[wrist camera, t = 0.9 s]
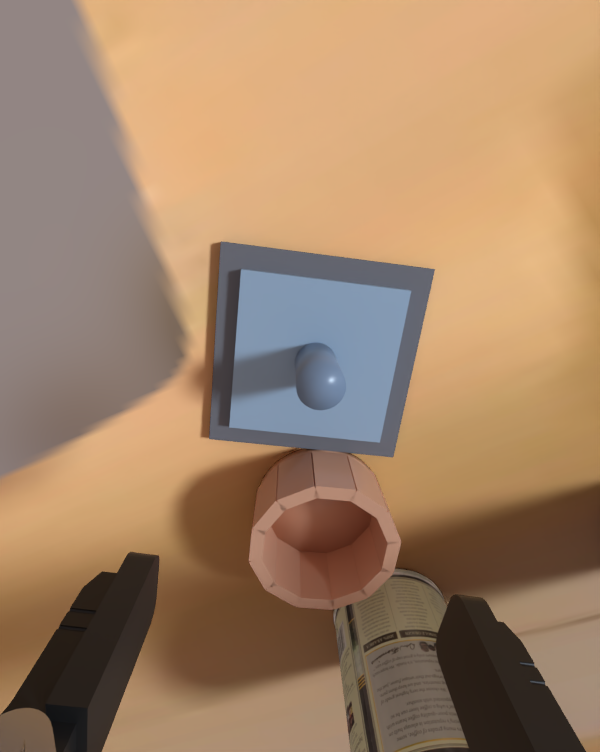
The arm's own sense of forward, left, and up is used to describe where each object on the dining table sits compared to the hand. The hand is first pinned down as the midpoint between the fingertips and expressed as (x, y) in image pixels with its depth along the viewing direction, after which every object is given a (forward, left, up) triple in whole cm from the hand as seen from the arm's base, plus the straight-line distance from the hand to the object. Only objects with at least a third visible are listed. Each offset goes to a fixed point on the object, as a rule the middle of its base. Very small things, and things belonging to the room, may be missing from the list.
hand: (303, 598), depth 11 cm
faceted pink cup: (-3, +10, -19) cm, 22 cm away
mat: (-1, -2, -19) cm, 19 cm away
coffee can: (-11, +21, -19) cm, 31 cm away
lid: (-1, -2, -18) cm, 18 cm away
